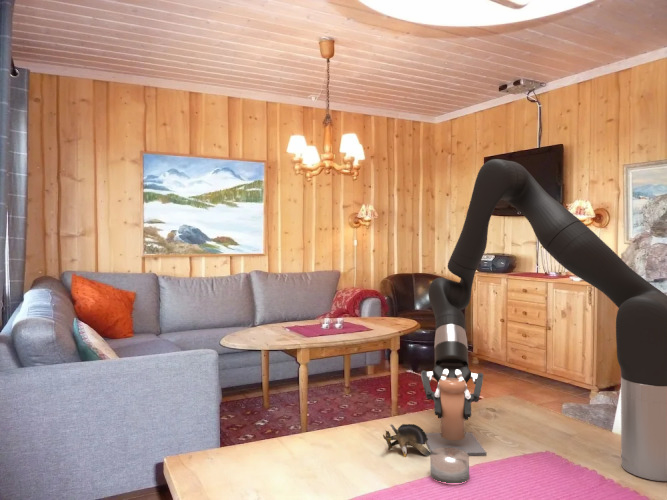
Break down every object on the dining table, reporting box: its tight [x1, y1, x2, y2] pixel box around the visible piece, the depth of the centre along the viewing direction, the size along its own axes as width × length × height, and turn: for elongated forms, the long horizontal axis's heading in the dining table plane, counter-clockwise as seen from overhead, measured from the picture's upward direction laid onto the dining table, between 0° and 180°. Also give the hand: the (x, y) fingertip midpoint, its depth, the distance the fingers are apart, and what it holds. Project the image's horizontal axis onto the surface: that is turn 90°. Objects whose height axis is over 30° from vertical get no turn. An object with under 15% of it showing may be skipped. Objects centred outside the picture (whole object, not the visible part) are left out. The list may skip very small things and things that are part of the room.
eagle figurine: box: [382, 423, 431, 458], centre depth 103 cm, size 8×7×9 cm
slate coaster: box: [425, 431, 487, 457], centre depth 107 cm, size 11×11×1 cm
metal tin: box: [429, 447, 470, 483], centre depth 93 cm, size 7×7×4 cm
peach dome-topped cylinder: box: [439, 378, 467, 440], centre depth 107 cm, size 6×6×12 cm
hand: (453, 417), depth 105 cm, fingers closed on peach dome-topped cylinder, 5 cm apart
